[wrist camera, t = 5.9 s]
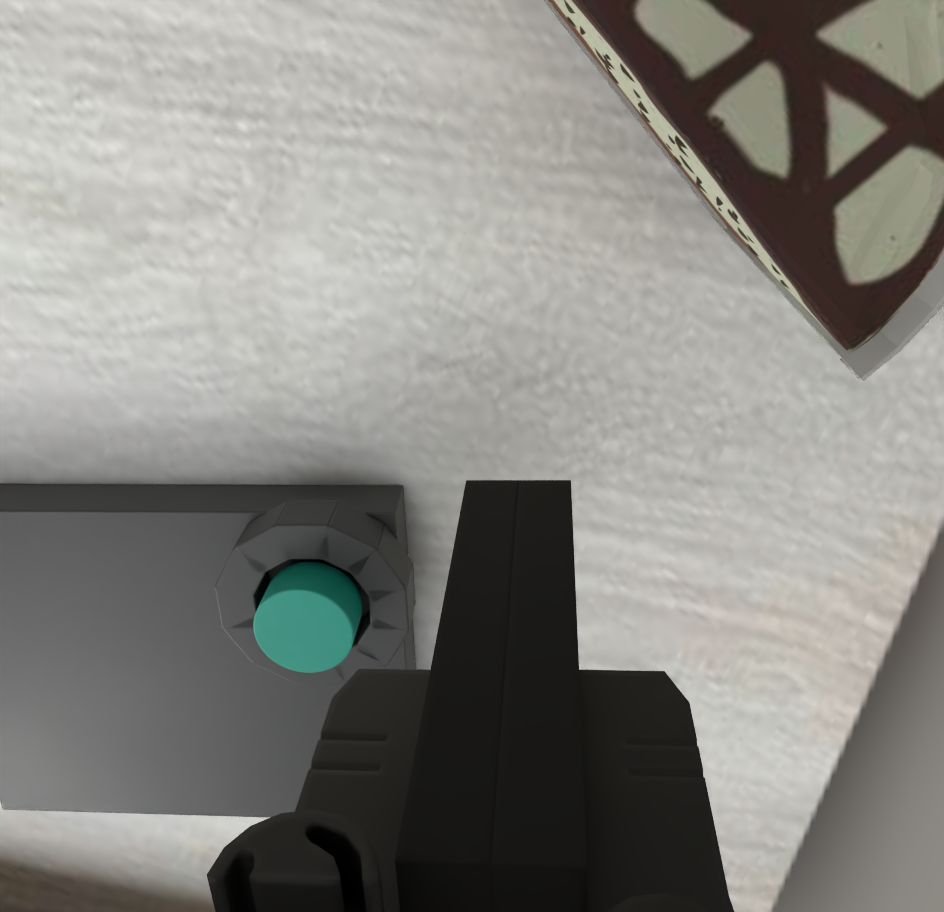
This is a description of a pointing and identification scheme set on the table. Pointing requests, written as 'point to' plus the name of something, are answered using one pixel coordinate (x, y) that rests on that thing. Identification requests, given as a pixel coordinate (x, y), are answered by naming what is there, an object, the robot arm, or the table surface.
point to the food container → (799, 143)
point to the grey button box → (178, 640)
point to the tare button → (308, 617)
